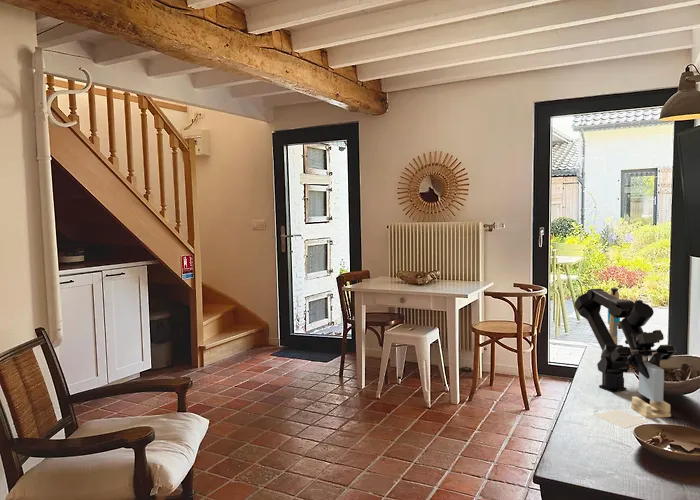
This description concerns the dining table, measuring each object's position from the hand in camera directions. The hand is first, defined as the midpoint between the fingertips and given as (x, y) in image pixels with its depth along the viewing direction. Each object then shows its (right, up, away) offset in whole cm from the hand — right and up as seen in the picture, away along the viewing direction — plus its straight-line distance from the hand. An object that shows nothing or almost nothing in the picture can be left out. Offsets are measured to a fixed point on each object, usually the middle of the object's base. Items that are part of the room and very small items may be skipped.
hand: (653, 377), depth 167 cm
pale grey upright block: (0, -6, +2) cm, 7 cm away
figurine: (+17, -6, +59) cm, 61 cm away
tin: (+16, -7, +47) cm, 50 cm away
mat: (-11, -12, -1) cm, 17 cm away
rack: (0, -12, +2) cm, 12 cm away
